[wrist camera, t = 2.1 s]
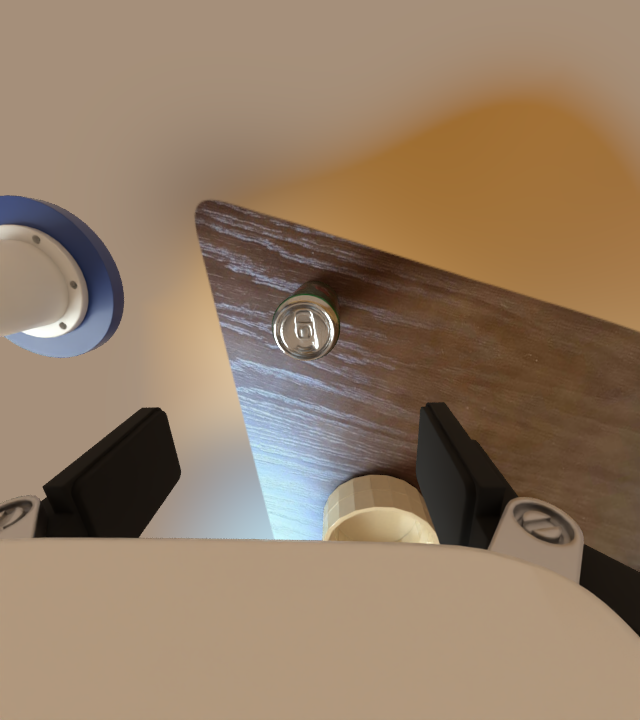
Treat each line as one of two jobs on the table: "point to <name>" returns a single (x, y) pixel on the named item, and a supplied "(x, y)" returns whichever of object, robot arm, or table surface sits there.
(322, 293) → the soda can
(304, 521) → the table surface
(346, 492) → the bowl
